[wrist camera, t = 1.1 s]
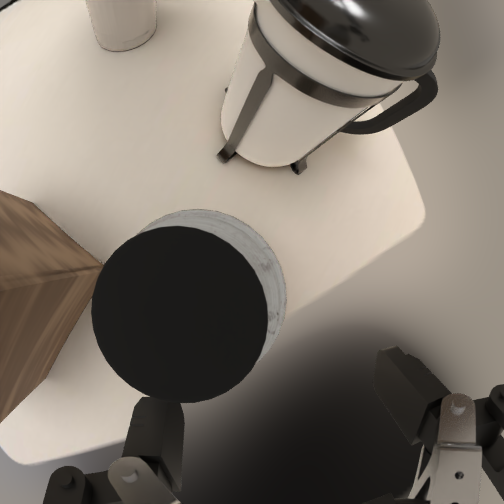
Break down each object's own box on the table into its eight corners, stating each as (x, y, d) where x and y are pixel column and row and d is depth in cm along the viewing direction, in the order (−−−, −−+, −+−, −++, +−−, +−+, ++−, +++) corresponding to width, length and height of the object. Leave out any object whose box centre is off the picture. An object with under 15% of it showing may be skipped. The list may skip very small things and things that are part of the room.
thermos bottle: (261, 272, 36) (382, 281, 8) (222, 327, 35) (220, 489, 7) (206, 232, 36) (150, 116, 8) (166, 288, 35) (11, 338, 7)
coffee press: (256, 214, 37) (458, 108, 8) (183, 112, 35) (211, -109, 6) (352, 148, 40) (527, 53, 11) (286, 63, 38) (394, -89, 9)
